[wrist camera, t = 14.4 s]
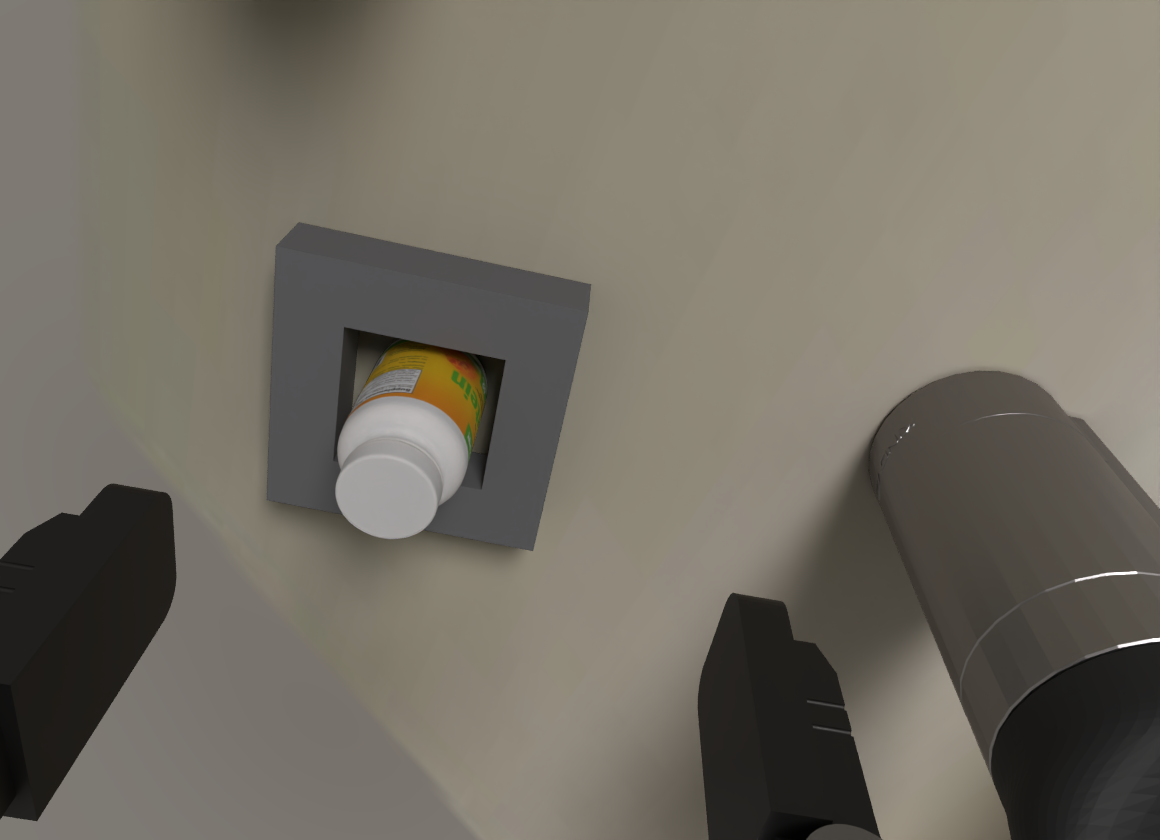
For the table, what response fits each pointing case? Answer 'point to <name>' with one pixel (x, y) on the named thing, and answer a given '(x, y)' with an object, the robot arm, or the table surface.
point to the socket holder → (432, 316)
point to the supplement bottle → (409, 438)
